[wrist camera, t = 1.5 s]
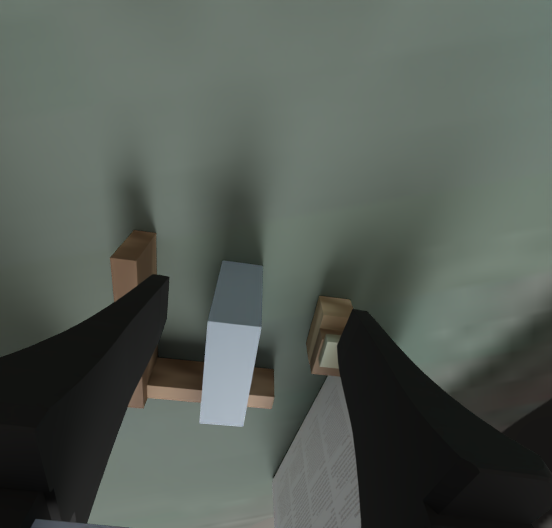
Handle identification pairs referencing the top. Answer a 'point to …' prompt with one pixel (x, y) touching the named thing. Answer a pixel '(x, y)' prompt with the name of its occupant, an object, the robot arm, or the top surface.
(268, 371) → the brown wooden l-shape
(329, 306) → the offcut stack
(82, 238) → the top surface
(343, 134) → the top surface
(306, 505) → the skincare box
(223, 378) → the light blue block
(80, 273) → the top surface
